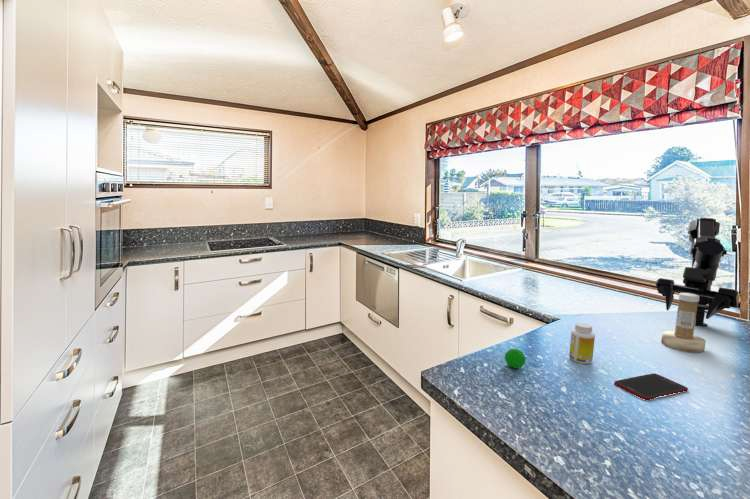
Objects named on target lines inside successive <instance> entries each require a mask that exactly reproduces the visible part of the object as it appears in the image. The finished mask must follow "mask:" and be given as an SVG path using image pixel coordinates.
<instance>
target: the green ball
mask: <svg viewBox="0 0 750 499" xmlns="http://www.w3.org/2000/svg"><path fill="white" fill-rule="evenodd" d="M504 360H505V362H506V364H507V366H510V367H511V368H512V367H513V368H512V369H519V368H522V367H523V366H524V365H525V364H526V357H525V354H524V353H523V351H522V350H519V349H517V348H511V349H508V350H507V351H506V352H505V354H504Z"/></svg>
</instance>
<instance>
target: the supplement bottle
mask: <svg viewBox="0 0 750 499" xmlns="http://www.w3.org/2000/svg"><path fill="white" fill-rule="evenodd" d="M570 333H571V334H570V344H569V354H568V356H569V359H570V360H572V361H573V362H575V363H577V364H581V365H582V364H583V365H588V364H591V363H592V362H593V357H594V348H595V340H596V338H595V337H596V335H595V333H594V332H593V326H592V325H591V324H589V323H585V322H576V323H575V327H574V328H573V329H572V330H571V332H570Z"/></svg>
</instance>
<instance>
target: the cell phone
mask: <svg viewBox="0 0 750 499" xmlns="http://www.w3.org/2000/svg"><path fill="white" fill-rule="evenodd" d="M614 386H615V387H618V388H620V389H621V390H623V391H625V392H626V393H629V394H631V395H633V394H634V395H636V396H638V397H640V398H642V399H645V400H644V401H646V400H648V401H651V400H650V399H653V400H654V398H656V397H659V396H664V395H669V394H673V393H678V392H683V391H687V390H689V388H688V387H686V386H685V385H683V384H680V383H678V382H677V381H674V380H672V379H669V378H667V377H665V376H662V375H661V374H657V373H648V374H644V375H643V374H642V375H638V376H634V377H628V378H624V379H623V378H622V379H619V380H615V381H614ZM687 392H688V391H687ZM683 393H684V392H683ZM634 395H633V396H634ZM636 396H635V397H636ZM638 397H637V398H638ZM640 398H639V399H640ZM642 399H641V400H642ZM656 399H657V398H656Z"/></svg>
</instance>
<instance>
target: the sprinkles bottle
mask: <svg viewBox="0 0 750 499" xmlns="http://www.w3.org/2000/svg"><path fill="white" fill-rule="evenodd" d="M698 302H699V295H696V294H692V293H681V292H679V295H678V306H677V307H678V308H677V310H676V311H677V312H676V318H677V319H676V320H675V329H674V331H675V333H674V335H676V336H677V337H680V338H685V339H693V338H694V337H693V335H695V334H694V332H695V328H696V325H695V323H696V313H697V305H698Z"/></svg>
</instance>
